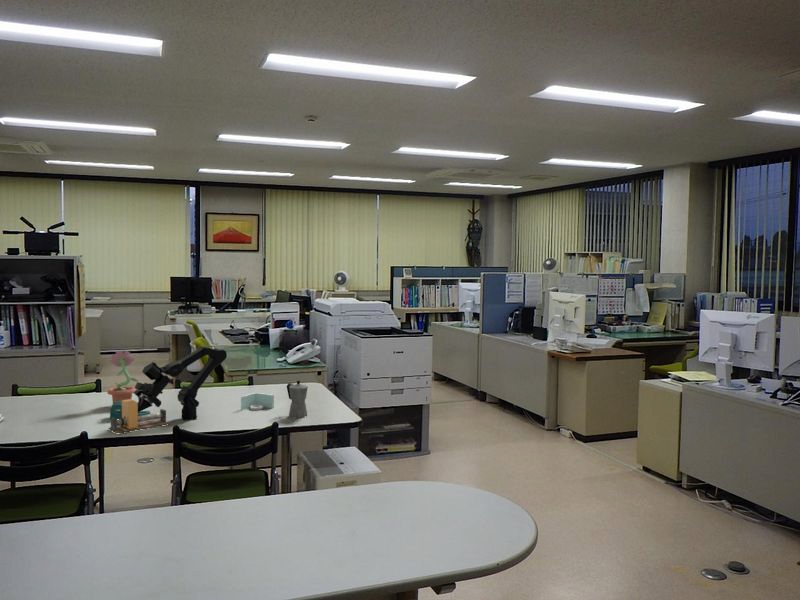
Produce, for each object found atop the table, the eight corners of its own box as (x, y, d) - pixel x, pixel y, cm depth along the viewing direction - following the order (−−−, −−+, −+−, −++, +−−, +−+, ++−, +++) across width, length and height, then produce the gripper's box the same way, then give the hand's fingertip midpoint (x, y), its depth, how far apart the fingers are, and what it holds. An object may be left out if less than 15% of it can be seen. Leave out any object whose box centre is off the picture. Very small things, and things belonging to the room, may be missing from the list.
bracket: (110, 421, 303) (109, 404, 302) (111, 417, 309) (111, 401, 309) (150, 418, 309) (150, 402, 309) (150, 414, 315) (150, 399, 315)
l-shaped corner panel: (241, 410, 328) (241, 396, 327) (255, 406, 339) (255, 392, 338) (259, 413, 323) (259, 399, 322) (273, 408, 334) (273, 394, 333)
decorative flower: (139, 402, 338) (139, 347, 336) (137, 409, 325) (136, 351, 323) (109, 404, 334) (108, 348, 331) (105, 410, 321) (105, 352, 318)
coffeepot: (313, 416, 318) (314, 381, 317) (299, 419, 311) (299, 384, 309) (294, 410, 328) (294, 376, 327) (279, 414, 321) (280, 379, 320)
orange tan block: (130, 423, 293) (130, 399, 292) (137, 427, 288) (137, 402, 287) (122, 425, 290) (121, 400, 289) (129, 429, 285) (128, 403, 284)
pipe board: (159, 420, 304) (159, 407, 304) (169, 425, 297) (169, 411, 297) (108, 430, 287) (108, 416, 287) (116, 434, 280) (116, 420, 280)
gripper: (137, 372, 299) (114, 398, 292) (154, 378, 286) (130, 406, 279) (154, 386, 305) (131, 412, 298) (171, 393, 292) (148, 420, 285)
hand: (134, 412), depth 290 cm, fingers closed, pressing on orange tan block
